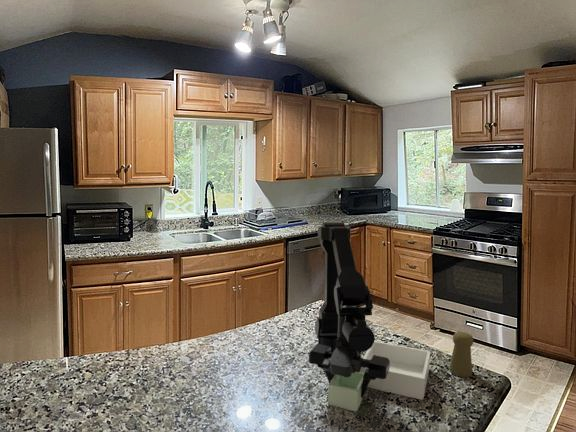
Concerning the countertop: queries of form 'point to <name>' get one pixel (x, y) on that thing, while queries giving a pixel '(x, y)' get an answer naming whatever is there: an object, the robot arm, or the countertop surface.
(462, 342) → the olive pepper shaker
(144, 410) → the countertop surface
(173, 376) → the countertop surface
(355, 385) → the sage crate
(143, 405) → the countertop surface
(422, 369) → the white open box
